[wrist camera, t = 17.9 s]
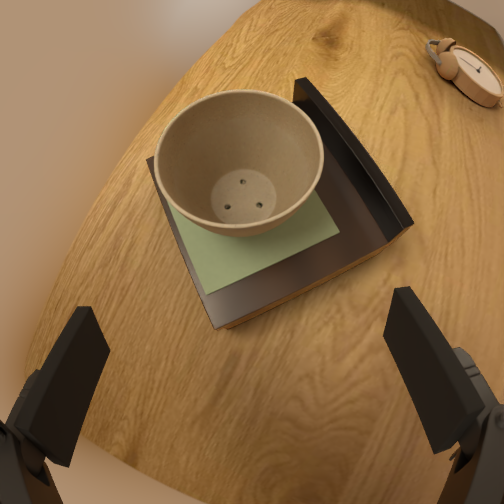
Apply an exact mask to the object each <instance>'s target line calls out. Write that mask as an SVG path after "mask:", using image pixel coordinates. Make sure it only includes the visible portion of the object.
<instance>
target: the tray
mask: <svg viewBox="0 0 504 504" xmlns="http://www.w3.org/2000/svg"><path fill="white" fill-rule="evenodd" d="M291 103H293V104H295V105H296V106H297V107H299V108H300V109H301V110H302V111H303V112H304V113H305V114H306V115H307V116H308V117H309V118H310V119H311V120H312V122H313V123H314V125H315V126H316V128H317V130H318V132H319V134H320V137H321V140H322V144H323V149H324V163H323V169H322V173H321V176H320V179H319V181H318V183H317V185H316V186H315V188H314V190H313V192H312V193H311V195H310V196H309V198H308V199H307V200H306V202H305V203H304V204H303V205H302V206H301V207H300V208H299V209H298V211H297V212H296V213H294V214H293V215H292V216H291V217H290V218H289V219H287V220H286V221H285V222H283V223H282V224H280V225H279V226H277V227H275V228H273V229H271V230H269V231H267V232H264V233H261V234H258V235H253V236H247V237H231V236H224V235H220V234H216V233H213V232H210V231H208V230H206V229H204V228H202V227H200V226H198V225H196V224H194V223H193V222H191V221H190V220H188V219H187V218H185V217H184V216H183V215H182V214H180V213H179V212H178V211H177V210H176V209H175V208H174V207H173V206H172V205H171V204H170V203H169V202H168V201H167V199H166V198H165V197H164V195H163V194H162V192H161V190H160V188H159V186H158V184H157V180H156V177H155V172H154V156H152V157H150V158H148V159H146V161H147V164H148V167H149V170H150V173H151V175H152V178H153V181H154V184H155V186H156V189H157V192H158V195H159V197H160V200H161V203H162V205H163V208H164V210H165V213H166V216H167V218H168V221H169V223H170V226H171V229H172V231H173V234H174V236H175V239H176V241H177V244H178V246H179V249H180V251H181V254H182V256H183V258H184V261H185V263H186V266H187V268H188V271H189V273H190V275H191V278H192V280H193V282H194V285H195V287H196V289H197V292H198V294H199V296H200V299H201V301H202V303H203V305H204V308H205V310H206V312H207V314H208V317H209V319H210V321H211V323H212V326H213V328H214V329H215V330H217V331H219V330H221V329H223V328H225V329H230V328H232V327H234V326H236V325H239V324H241V323H243V322H245V321H247V320H249V319H252V318H254V317H256V316H258V315H260V314H262V313H264V312H266V311H268V310H270V309H273V308H275V307H277V306H279V305H281V304H283V303H285V302H287V301H289V300H291V299H293V298H295V297H297V296H299V295H301V294H303V293H305V292H307V291H309V290H311V289H313V288H315V287H317V286H319V285H321V284H323V283H325V282H327V281H328V280H330V279H332V278H334V277H336V276H338V275H340V274H342V273H344V272H346V271H348V270H349V269H351V268H353V267H355V266H357V265H359V264H361V263H362V262H364V261H366V260H368V259H370V258H372V257H373V256H375V255H377V254H378V253H380V252H381V251H382V250H383V249H384V248H385V247H387V246H388V245H390V244H392V243H393V242H394V241H395V240H396V239H398V237H400V236H401V235H402V234H403V233H404V232H406V231H407V230H408V229H409V228H410V227H411V226H412V225H413V224H414V221H413V220H412V218H411V216H410V215H409V213H408V211H407V210H406V208H405V207H404V205H403V203H402V202H401V200H400V199H399V197H398V196H397V194H396V192H395V191H394V189H393V188H392V186H391V185H390V183H389V182H388V180H387V179H386V177H385V176H384V175H383V173H382V172H381V170H380V169H379V167H378V166H377V164H376V163H375V162H374V160H373V159H372V157H371V156H370V155H369V153H368V152H367V151H366V149H365V148H364V147H363V145H362V144H361V143H360V141H359V140H358V139H357V137H356V136H355V135H354V133H353V132H352V131H351V130H350V128H349V127H348V126H347V125H346V123H345V122H344V121H343V120H342V118H341V117H340V116H339V115H338V113H337V112H336V111H335V110H334V109H333V107H332V106H331V105H330V104H329V103H328V101H327V100H326V99H325V98H324V97H323V96H322V94H321V93H320V92H319V91H318V90H317V89H316V88H315V87H314V85H313V84H312V83H311V82H310V81H309V80H308V79H307V78H306V77H304V78H300V79H296V80H295V84H294V93H293V102H291ZM241 184H242V181H241ZM258 204H259V205H262V204H261V203H258ZM228 209H230V207H228V208H227V210H228Z"/></svg>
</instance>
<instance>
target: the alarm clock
mask: <svg viewBox="0 0 504 504" xmlns="http://www.w3.org/2000/svg"><path fill="white" fill-rule="evenodd" d="M429 44H434V45H438V46H437V49H436V51H437V55H438V56H437V55H436V54H435V53H434V52H433V51H432V49H431V48H430V46H429ZM425 47H426V50H427V52H428V54H429V55H430V56H431V57H432V58H433V59H434V60H435V61H436V68H437V71H438V73H439V74H440V75H441V76H442V77H443V78H445V79H447V80H452V81H453V82H454V84H455V85H456V86H457V87H458V88H459V89H460V90H461V91H462V92H463V93H465V94H466V95H467V96H468V97H469V98H471V99H472V100H474V101H475V102H477V103H478V104H480V105H482V106H485V107H493V106H494V105H495V104H496V103H498V105H499V106H500V107H501V108H502V107H503V105H502V104H501V102H500V101H499V99H500V98H502V96H503V95H504V87H503V84H502V82H501V80H500V79H499V77H498V76H497V74H496V73H495V72H494V71H493V69H492V68H491V67H490V66H489V65H488V64H487V63H486V62H485V61H484V60H483V59H481V58H480V57H479V56H478V55H476V54H475V53H473V52H472V51H470V50H468V49H466V48H464V47H461V46H457V45H456V41H455V40H453V39H451V38H445V39H443V40H441V41H439V40H438V41H437V40H432V39H431V40H429V41H428V42H427V44H426V46H425Z"/></svg>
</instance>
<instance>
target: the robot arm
mask: <svg viewBox="0 0 504 504" xmlns="http://www.w3.org/2000/svg"><path fill="white" fill-rule="evenodd" d="M383 337H384V339H385V341H386V343H387V345H388V347H389V349H390V352H391V354H392V356H393V358H394V360H395V362H396V364H397V367H398V369H399V371H400V373H401V375H402V378H403V380H404V382H405V384H406V387H407V389H408V391H409V394H410V396H411V398H412V401H413V403H414V405H415V408H416V410H417V412H418V415H419V417H420V420H421V422H422V425H423V427H424V430H425V432H426V435H427V437H428V440H429V443H430V445H431V448H432V450H433V453H434V454H437V453H440V452H442V451H445V450H447V449H450V448H451V447H452V446H453V445H454V444H455V443H456V442H457V441H458V442H459V444H460V447H459V448H458V449H457V450H456V451H455V452H454V453H453V454H452V455H451V457H450V459H449V460H450V461H451V460H452V459H453V458H454V457H455V456H456V457H455V459H454V462H453V465H452V468H451V471H450V473H449V476H448V478H447V481H446V484H445V486H444V488H443V491H442V493H441V496H440V498H439V500H438V502H437V504H504V405H503V404H499V402H498V401H497V399H496V397H495V396H494V394H493V392H492V391H491V389H490V387H489V385H488V384H487V382H486V380H485V379H484V377H483V375H482V374H480V371H479V369H478V367H476V364H475V363H474V361H473V359H472V358H471V356H470V355H469V354H468V353H467V352H466V351H464V350H463V349H462V348H461V347H458V348H454V349H452V348H451V346H450V345H449V343H448V342H447V340H446V339H445V337H444V335H443V334H442V332H441V331H440V329H439V328H438V326H437V325H436V323H435V322H434V320H433V319H432V317H431V316H430V315H429V313H428V312H427V310H426V309H425V307H424V306H423V304H422V303H421V302H420V300H419V299H418V297H417V296H416V295H415V293H414V292H413V290H412V289H411V288H410V286H408V287H400V288H394V293H393V297H392V302H391V306H390V310H389V314H388V318H387V322H386V326H385V330H384V333H383ZM109 353H110V348H109V346H108V344H107V342H106V340H105V338H104V335H103V333H102V331H101V329H100V326H99V324H98V322H97V320H96V317H95V315H94V312H93V310H92V308H91V306H77V308H76V310H75V311H74V313H73V314H72V316H71V318H70V319H69V321H68V322H67V324H66V326H65V327H64V329H63V331H62V332H61V334H60V336H59V337H58V339H57V341H56V343H55V344H54V346H53V348H52V350H51V351H50V353H49V355H48V357H47V359H46V360H45V362H44V364H43V366H42V368H41V370H37V369H36V370H35V371H34V372H33V373H32V374H31V375H30V376H29V377H28V379H27V381H26V383H25V385H24V387H23V389H22V391H21V392H20V395H19V397H18V399H17V400H16V402H15V404H14V407H13V408H12V410H11V413H10V415H9V417H8V419H7V421H6V423H5V424H4V423H3V422H2V421H1V420H0V504H63V502H62V500H61V497H60V495H59V493H58V491H57V488H56V486H55V483H54V481H53V479H52V476H51V474H50V471H49V468H48V466H47V465H46V463H45V462H44V460H45V457H47V458H48V459H49V460H51V461H52V462H53V463H55V464H58V465H61V466H65V467H68V468H69V466H70V462H71V459H72V456H73V452H74V449H75V446H76V443H77V440H78V436H79V434H80V431H81V428H82V425H83V422H84V419H85V416H86V413H87V410H88V408H89V405H90V402H91V399H92V397H93V394H94V391H95V389H96V386H97V383H98V381H99V378H100V376H101V373H102V371H103V368H104V366H105V363H106V361H107V358H108V356H109Z"/></svg>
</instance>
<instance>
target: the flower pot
mask: <svg viewBox="0 0 504 504" xmlns="http://www.w3.org/2000/svg"><path fill="white" fill-rule="evenodd" d="M323 163H324V149H323V144H322V140H321V137H320V134H319V132H318V130H317V128H316V126H315V125H314V123H313V122H312V120H311V119H310V118H309V117H308V116H307V115H306V114H305V113H304V112H303V111H302V110H301V109H300V108H299V107H297V106H296V105H295V104H293V103H291V102H290V101H288V100H286V99H284V98H282V97H280V96H277V95H274V94H272V93H268V92H265V91H259V90H250V89H237V90H227V91H222V92H218V93H214V94H211V95H208V96H205V97H203V98H201V99H199V100H197V101H195V102H193V103H191V104H190V105H188V106H187V107H185V108H184V109H182V110H181V111H180V112H179V113H178V114H177V115H176V116H175V117H174V118H173V119H172V120H171V121H170V122H169V123H168V125H167V126H166V127H165V129H164V130H163V132H162V134H161V136H160V138H159V140H158V143H157V146H156V149H155V155H154V172H155V177H156V180H157V184H158V186H159V188H160V190H161V192H162V194H163V195H164V197H165V198H166V199H167V201H168V202H169V203H170V204H171V205H172V206H173V207H174V208H175V209H176V210H177V211H178V212H179V213H180V214H182V215H183V216H184V217H185V218H187V219H188V220H190V221H191V222H193V223H194V224H196V225H198V226H200V227H202V228H204V229H206V230H208V231H210V232H213V233H216V234H220V235H224V236H231V237H247V236H253V235H258V234H261V233H264V232H267V231H269V230H271V229H273V228H275V227H277V226H279V225H280V224H282V223H283V222H285V221H286V220H287V219H289V218H290V217H291V216H292V215H293V214H294V213H296V212H297V211H298V209H299V208H300V207H301V206H302V205H303V204H304V203H305V202H306V200H307V199H308V198H309V196H310V195H311V193H312V192H313V190H314V188H315V186H316V185H317V183H318V181H319V179H320V176H321V173H322V169H323ZM241 181H242V184H241ZM258 203H261V204H262V205H259V204H258ZM228 207H230V209H228V210H227V208H228Z"/></svg>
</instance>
